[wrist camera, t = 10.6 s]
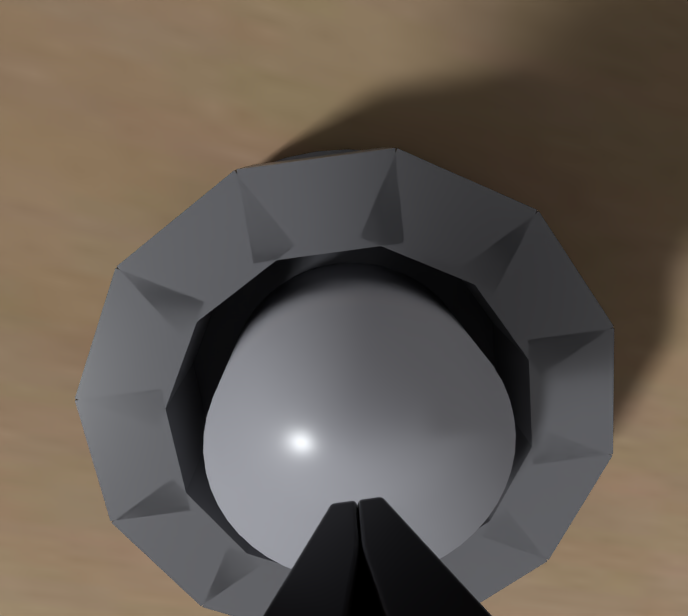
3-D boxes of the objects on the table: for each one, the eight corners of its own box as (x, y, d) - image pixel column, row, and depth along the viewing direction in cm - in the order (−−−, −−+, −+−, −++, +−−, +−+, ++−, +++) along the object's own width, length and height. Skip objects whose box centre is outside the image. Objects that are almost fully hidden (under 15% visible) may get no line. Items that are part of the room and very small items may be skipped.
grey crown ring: (553, 119, 13) (622, 111, 10) (561, 521, 16) (615, 605, 13) (81, 183, 13) (8, 194, 10) (181, 571, 16) (149, 667, 13)
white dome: (463, 249, 13) (512, 284, 10) (473, 468, 15) (517, 563, 11) (212, 278, 13) (175, 322, 10) (251, 494, 15) (231, 596, 11)
